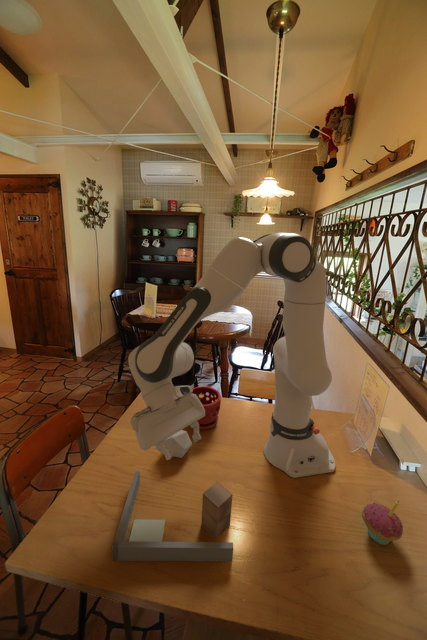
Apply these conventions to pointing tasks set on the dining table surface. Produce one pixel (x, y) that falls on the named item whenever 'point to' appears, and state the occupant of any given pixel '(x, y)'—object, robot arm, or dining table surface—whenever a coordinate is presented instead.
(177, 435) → the die
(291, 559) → the dining table surface
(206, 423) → the plant pot
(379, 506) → the cupcake
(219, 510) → the walnut block
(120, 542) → the grey l-shaped bracket
